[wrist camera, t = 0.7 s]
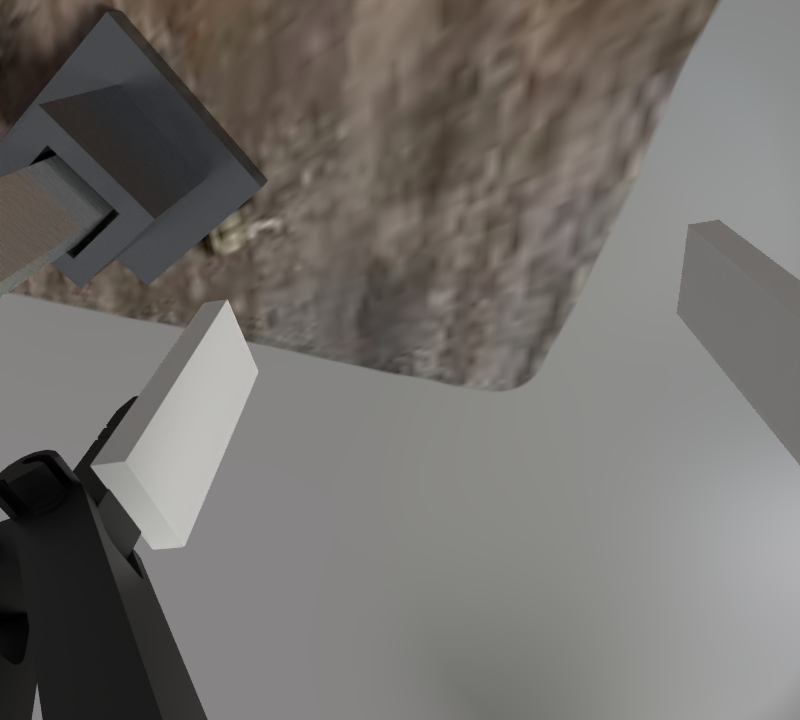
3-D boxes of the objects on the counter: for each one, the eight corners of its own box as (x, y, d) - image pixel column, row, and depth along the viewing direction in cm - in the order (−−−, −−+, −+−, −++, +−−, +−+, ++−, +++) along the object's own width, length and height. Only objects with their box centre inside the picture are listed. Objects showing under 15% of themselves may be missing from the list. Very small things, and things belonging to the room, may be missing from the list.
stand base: (13, 142, 40) (-107, 180, 31) (121, 11, 35) (16, 12, 26) (157, 275, 46) (92, 341, 37) (267, 180, 41) (224, 229, 32)
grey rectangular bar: (81, 169, 39) (-197, 300, 22) (129, 117, 37) (-136, 216, 20) (128, 214, 41) (-92, 368, 24) (177, 167, 39) (-26, 299, 21)
